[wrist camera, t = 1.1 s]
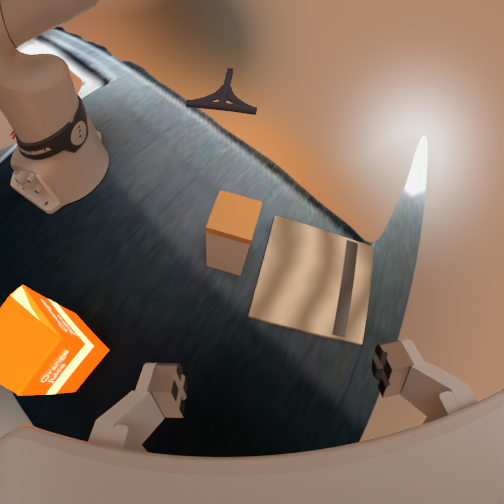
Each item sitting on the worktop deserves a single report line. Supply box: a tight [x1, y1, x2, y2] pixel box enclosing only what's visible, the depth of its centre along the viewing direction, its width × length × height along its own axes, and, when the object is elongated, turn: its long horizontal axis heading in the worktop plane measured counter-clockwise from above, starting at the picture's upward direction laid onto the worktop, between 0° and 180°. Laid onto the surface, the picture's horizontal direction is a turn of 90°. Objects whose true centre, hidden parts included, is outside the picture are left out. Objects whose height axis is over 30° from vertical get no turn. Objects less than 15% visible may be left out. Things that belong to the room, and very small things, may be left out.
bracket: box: [186, 68, 257, 115], centre depth 57 cm, size 14×15×3 cm
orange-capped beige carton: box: [206, 190, 263, 276], centre depth 38 cm, size 5×5×12 cm
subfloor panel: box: [248, 215, 374, 345], centre depth 43 cm, size 17×16×1 cm
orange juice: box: [0, 285, 109, 396], centre depth 25 cm, size 8×9×20 cm
